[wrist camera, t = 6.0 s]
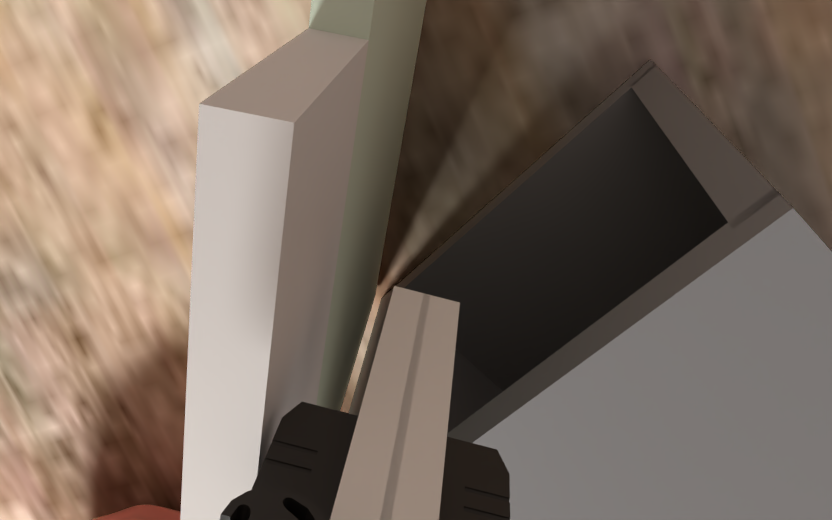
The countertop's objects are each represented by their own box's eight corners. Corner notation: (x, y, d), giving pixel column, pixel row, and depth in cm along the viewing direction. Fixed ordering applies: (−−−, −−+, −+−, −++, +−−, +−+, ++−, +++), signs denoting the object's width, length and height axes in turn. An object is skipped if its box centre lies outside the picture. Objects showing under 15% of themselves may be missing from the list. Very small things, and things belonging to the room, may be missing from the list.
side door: (436, -55, 28) (301, 49, 9) (375, 295, 35) (223, 791, 16) (405, -62, 28) (202, 29, 9) (350, 290, 35) (168, 779, 16)
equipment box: (851, 285, 33) (1121, 579, 19) (574, 469, 39) (620, 798, 25) (650, 59, 30) (792, 208, 16) (381, 298, 36) (305, 565, 22)
